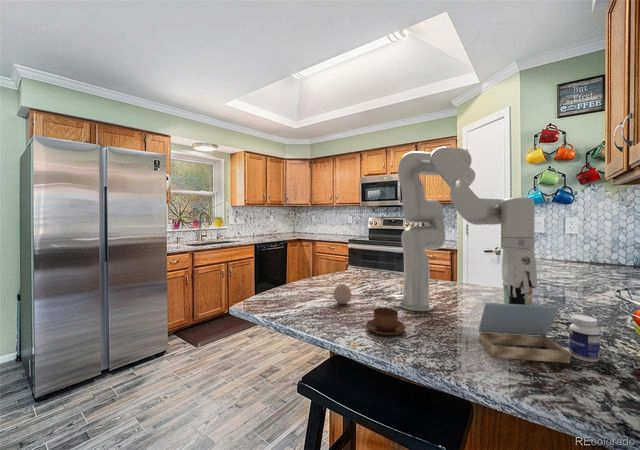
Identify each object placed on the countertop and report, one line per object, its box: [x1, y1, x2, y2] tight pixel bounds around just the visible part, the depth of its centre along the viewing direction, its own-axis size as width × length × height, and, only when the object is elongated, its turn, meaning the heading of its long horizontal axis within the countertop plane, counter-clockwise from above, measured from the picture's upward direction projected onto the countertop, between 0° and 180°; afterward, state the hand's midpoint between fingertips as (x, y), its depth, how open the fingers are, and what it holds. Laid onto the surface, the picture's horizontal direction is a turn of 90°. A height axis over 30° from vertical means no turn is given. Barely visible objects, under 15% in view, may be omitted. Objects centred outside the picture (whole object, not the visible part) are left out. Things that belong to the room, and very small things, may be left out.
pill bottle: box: [568, 314, 601, 363], centre depth 74 cm, size 6×6×10 cm
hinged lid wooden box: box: [478, 331, 571, 364], centre depth 78 cm, size 17×10×2 cm, turn 79°
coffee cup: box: [501, 280, 528, 305], centre depth 109 cm, size 8×9×12 cm
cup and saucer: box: [365, 307, 406, 336], centre depth 92 cm, size 12×12×6 cm
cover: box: [478, 302, 560, 337], centre depth 80 cm, size 17×11×1 cm
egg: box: [333, 283, 352, 305], centre depth 121 cm, size 7×7×8 cm
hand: (516, 311), depth 80 cm, fingers closed
